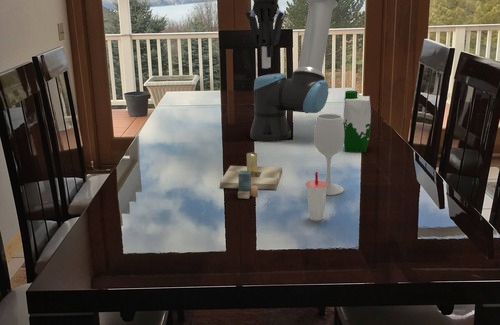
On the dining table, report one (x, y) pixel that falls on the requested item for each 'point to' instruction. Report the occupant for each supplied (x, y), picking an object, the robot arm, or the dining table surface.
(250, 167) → the post
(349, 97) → the milk carton
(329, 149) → the wineglass
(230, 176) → the light wooden flat board
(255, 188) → the dowel
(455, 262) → the dining table surface
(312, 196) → the cup
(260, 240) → the dining table surface
